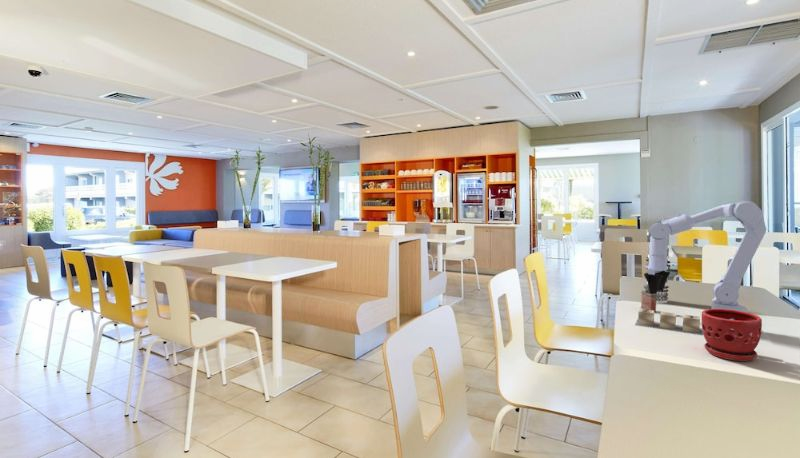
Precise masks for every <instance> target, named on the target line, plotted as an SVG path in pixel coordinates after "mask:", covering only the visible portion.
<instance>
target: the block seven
mask: <svg viewBox="0 0 800 458" xmlns="http://www.w3.org/2000/svg"><path fill="white" fill-rule="evenodd" d="M637 314H638V317H637V319H638V324H641V325H648V326H653V324H654V322H655V313H654V311H652V310H645V309H641V308H639V309H638V313H637Z"/></svg>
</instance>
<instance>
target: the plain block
mask: <svg viewBox="0 0 800 458" xmlns="http://www.w3.org/2000/svg"><path fill="white" fill-rule="evenodd" d="M659 317H660V318H659V319H660V320H659V323H660V327H662V328H668V329H675V330H676V325H677V313H674V312H669V311H668V312H666V311H660V315H659Z"/></svg>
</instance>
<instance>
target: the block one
mask: <svg viewBox="0 0 800 458" xmlns="http://www.w3.org/2000/svg"><path fill="white" fill-rule="evenodd" d="M700 325H701V318H700V316H697V315H691V314H683V315H682V326H683V331H689V332H695V333H699V330H700V328H701V326H700Z"/></svg>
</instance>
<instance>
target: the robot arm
mask: <svg viewBox="0 0 800 458" xmlns="http://www.w3.org/2000/svg"><path fill="white" fill-rule="evenodd" d="M719 217H720V218H721V217H724V218H733V217H734V218H735V219H736V220H737V221H739V222H740V224H741V226H742V227H743V229H744V230H745V232H744V233H743V234H744V235H743V236H742V238H741V240H740V242H739V244H738V246H737V249H736V251H735V253H734V254H733V257H732V259H730V260H731V261H730V263H729V264H728V267H727V269H726V271H725V273H724V274H723V275H722V276H721V279H720V280H719V281H718V282H716V283H715V284H714V285H713V288H712V293H713V294H714V296H715V297H713V298H712V299H711V308H710V309H728V310H736V311H742V312H747V313H749V311H748V308H747V307H746V306H744V305H740V304H739V301H738V299H739V297H740V294H739V291H740V288H741V284H742V279H743V278H744V276H745V274H746V271H747V270H748V268H749V267H750V264H751V262H752V260H753V258H754V256H755V255H756V252H757V251H758V248H759V246H760V244H761V243H762V240H763V239H764V237H765V234H766V233H767V226H766V223H765V220H764V217H763V210H762V209H761V208H760V207H759V206H758V205H757V204H756V203H755V202H753V201H750V200H741V201H737V202H734V203H733V202H732V203H727V204H726V203H725V204H722V205H719V206H716V207H713V208H709V209H707V210H705V211H702V212H698V213H696V214H692V215H688V214H685V213H683V214H681V213H679V214H676V216H675V217H672V218H670V219H666V220H665V219H662V220H661V222H656V223H654V224H653V225H651V226H650V228H649V234H650V236H649V241H650V242H649V245H648V246H649V247H648V254H649V264H648V265H649V266H647V265H645V267H644V268H645V269H646V268H648V270H647V271H648V273H646V272H644V273H643V276H644V277H645V280H646V283H647V282H648V287H649V291H650V293H654V294H657V291H658V290H660V291H663V290H664V287H665V283H666V280H667V281H668V279H669V276H670V275H671V271H668V272H666V270H667V249H668V248H669V247H668V242H667V241H668V235H671V236H674V235H676V234H680V233H683V232H687V231H690V230H692V229H693V227H694V225H696V224H699V223H704V222H706V221H709V220H714V219H716V218H719ZM667 278H668V279H667ZM729 320H734V319H729ZM731 330H733V329H731Z"/></svg>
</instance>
